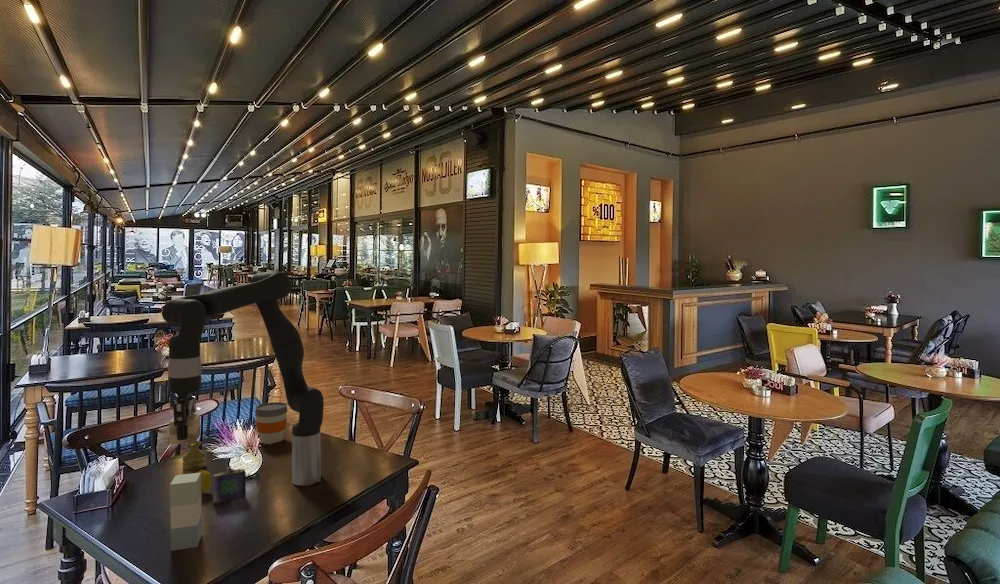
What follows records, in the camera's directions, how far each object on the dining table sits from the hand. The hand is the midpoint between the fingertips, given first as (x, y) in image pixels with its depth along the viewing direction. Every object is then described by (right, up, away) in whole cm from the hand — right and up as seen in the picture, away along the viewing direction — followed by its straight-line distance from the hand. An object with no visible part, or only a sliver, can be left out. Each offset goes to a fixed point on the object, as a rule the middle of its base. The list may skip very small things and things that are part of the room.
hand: (185, 435), depth 134 cm
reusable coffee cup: (-13, -25, +79) cm, 84 cm away
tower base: (-1, -30, +2) cm, 30 cm away
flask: (-3, -29, +26) cm, 39 cm away
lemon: (-13, -28, +30) cm, 43 cm away
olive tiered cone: (-29, -27, +51) cm, 64 cm away
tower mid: (0, -24, +1) cm, 24 cm away
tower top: (0, -18, +1) cm, 18 cm away
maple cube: (0, -1, 0) cm, 1 cm away
